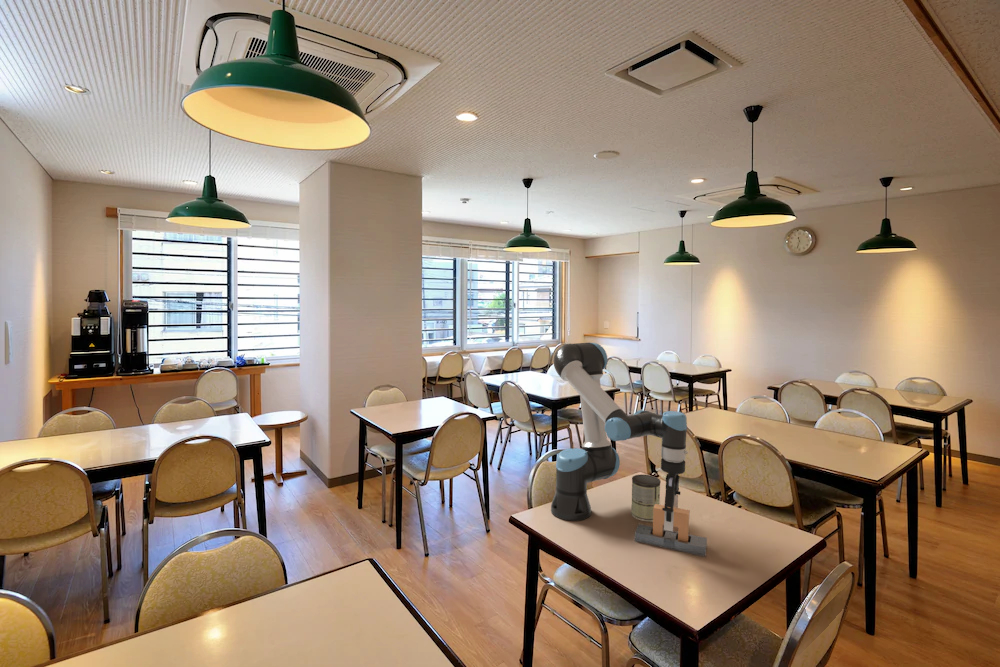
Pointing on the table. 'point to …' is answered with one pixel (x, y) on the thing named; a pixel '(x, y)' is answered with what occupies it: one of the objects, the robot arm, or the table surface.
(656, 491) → the coffee can
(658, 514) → the tan wooden block
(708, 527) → the table surface
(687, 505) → the table surface
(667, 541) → the rail
